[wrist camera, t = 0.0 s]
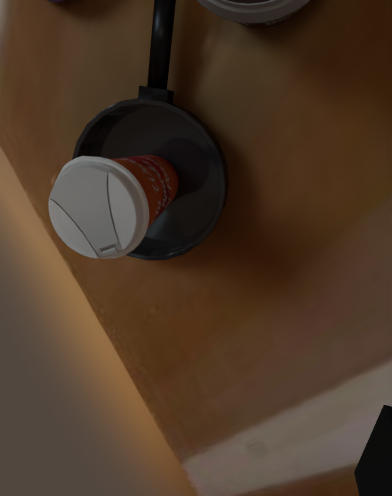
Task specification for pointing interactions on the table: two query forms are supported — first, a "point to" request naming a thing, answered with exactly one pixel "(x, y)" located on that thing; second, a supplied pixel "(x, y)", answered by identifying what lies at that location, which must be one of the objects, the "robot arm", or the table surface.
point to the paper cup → (110, 202)
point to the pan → (178, 155)
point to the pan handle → (160, 53)
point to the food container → (255, 10)
